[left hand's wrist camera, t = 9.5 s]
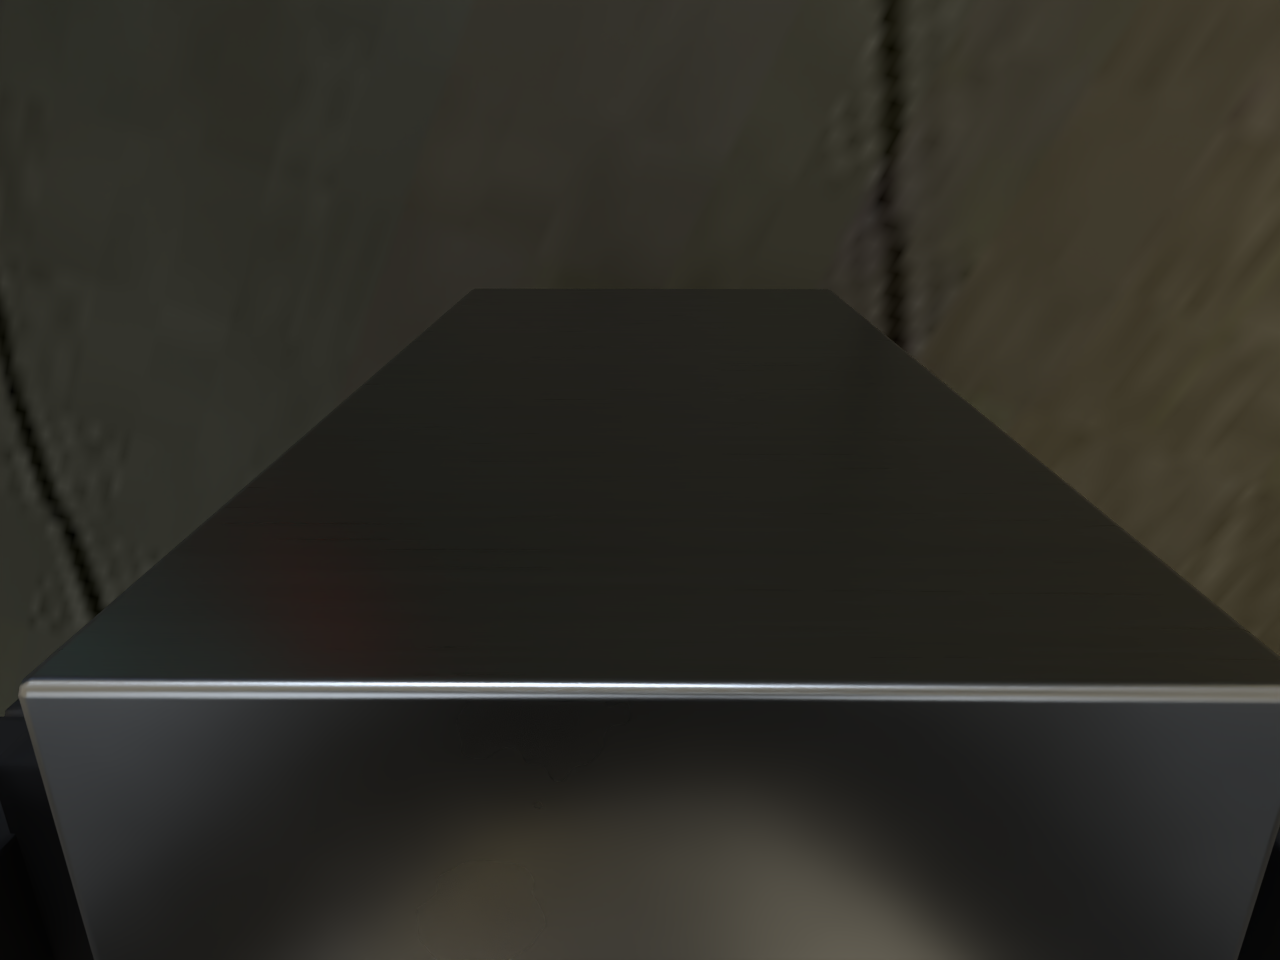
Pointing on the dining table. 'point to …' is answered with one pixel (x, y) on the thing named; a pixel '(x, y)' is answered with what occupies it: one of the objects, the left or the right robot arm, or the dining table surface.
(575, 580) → the box
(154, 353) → the dining table surface
